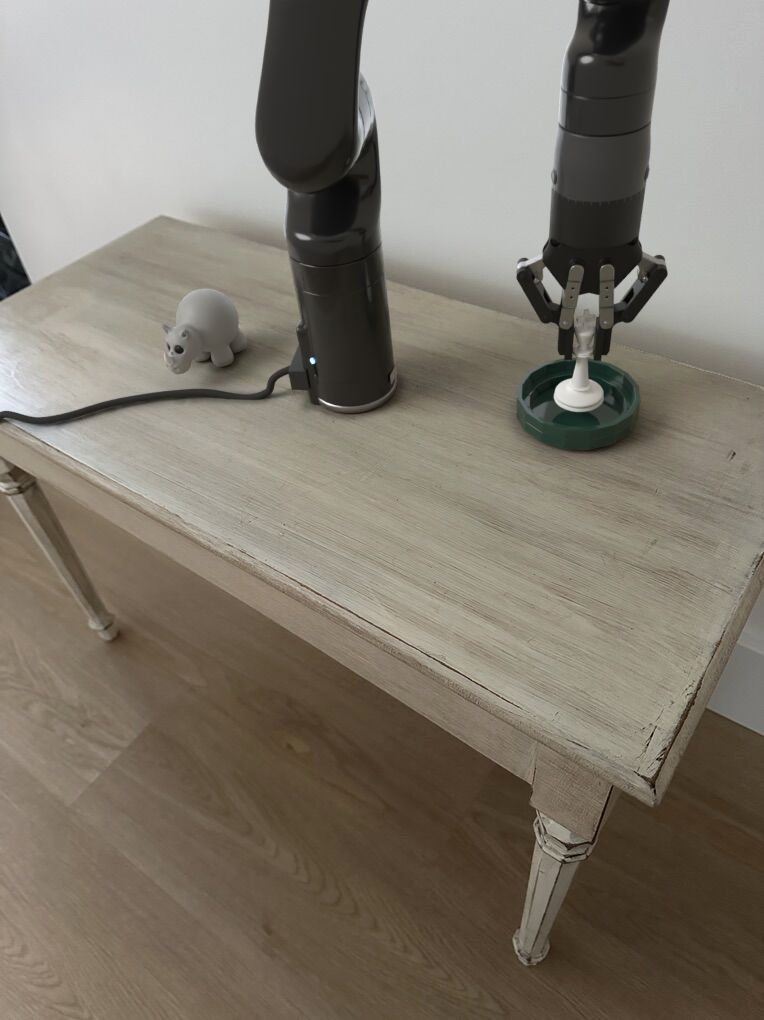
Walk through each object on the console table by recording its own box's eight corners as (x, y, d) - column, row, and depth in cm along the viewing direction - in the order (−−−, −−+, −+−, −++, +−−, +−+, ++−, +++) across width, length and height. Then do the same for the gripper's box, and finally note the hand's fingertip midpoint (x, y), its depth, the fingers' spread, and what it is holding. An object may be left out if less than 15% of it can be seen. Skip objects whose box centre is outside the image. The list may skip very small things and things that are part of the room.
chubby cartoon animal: (151, 388, 93) (128, 325, 87) (211, 334, 100) (193, 272, 94) (200, 401, 90) (180, 337, 84) (258, 344, 97) (243, 282, 91)
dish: (514, 451, 79) (515, 428, 77) (518, 380, 87) (519, 357, 85) (640, 455, 77) (644, 431, 75) (631, 381, 85) (635, 358, 83)
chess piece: (548, 386, 82) (554, 300, 75) (595, 380, 82) (605, 293, 75) (560, 415, 79) (567, 328, 72) (609, 408, 79) (621, 321, 71)
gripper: (682, 156, 66) (653, 334, 78) (514, 162, 68) (511, 335, 81) (693, 195, 61) (660, 379, 73) (511, 200, 63) (508, 378, 75)
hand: (582, 355), depth 77 cm, fingers closed on chess piece
